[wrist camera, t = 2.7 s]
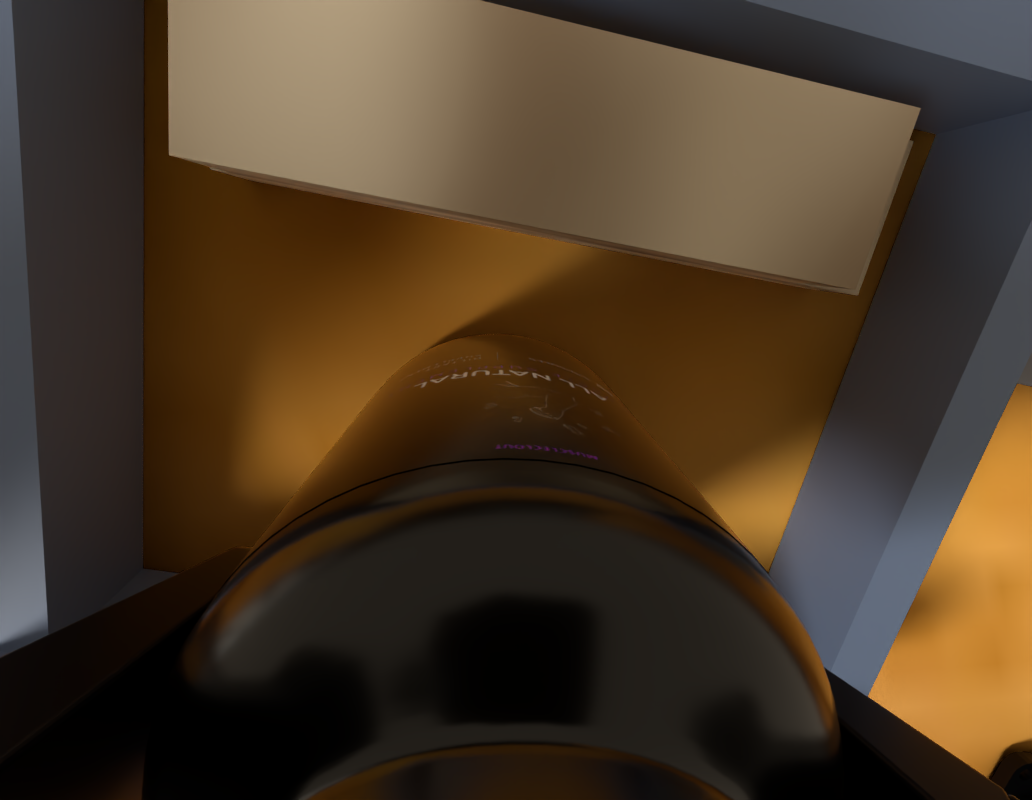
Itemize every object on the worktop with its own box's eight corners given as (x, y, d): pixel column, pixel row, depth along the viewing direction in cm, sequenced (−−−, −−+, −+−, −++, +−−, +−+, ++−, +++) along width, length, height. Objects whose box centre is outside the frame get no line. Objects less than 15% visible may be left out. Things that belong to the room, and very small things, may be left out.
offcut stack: (843, 157, 12) (1016, 116, 8) (801, 287, 13) (939, 306, 9) (262, 25, 10) (134, -104, 7) (255, 181, 11) (138, 149, 7)
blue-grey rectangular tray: (1005, 88, 11) (1388, -30, 7) (766, 679, 16) (891, 867, 11) (72, -170, 9) (-380, -634, 4) (94, 601, 13) (-120, 796, 9)
